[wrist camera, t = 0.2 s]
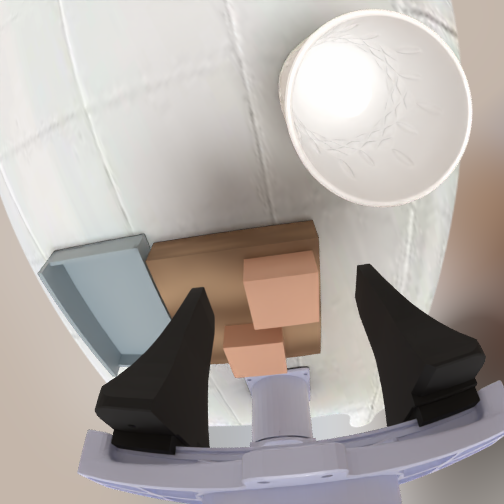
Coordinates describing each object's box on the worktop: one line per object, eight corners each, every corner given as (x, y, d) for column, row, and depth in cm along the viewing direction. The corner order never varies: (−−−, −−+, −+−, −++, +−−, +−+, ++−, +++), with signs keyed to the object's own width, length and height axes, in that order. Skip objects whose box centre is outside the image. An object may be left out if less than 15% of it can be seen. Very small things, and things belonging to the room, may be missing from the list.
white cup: (369, 26, 14) (457, 12, 6) (390, 131, 19) (473, 189, 11) (254, 45, 16) (255, 25, 8) (286, 153, 20) (312, 227, 12)
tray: (197, 352, 33) (193, 377, 30) (119, 353, 34) (112, 376, 31) (144, 234, 24) (131, 259, 21) (54, 251, 25) (37, 273, 22)
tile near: (314, 299, 25) (319, 321, 22) (254, 306, 25) (254, 329, 23) (312, 250, 22) (318, 271, 20) (243, 259, 22) (243, 281, 20)
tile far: (285, 352, 29) (287, 373, 27) (235, 357, 29) (235, 378, 27) (281, 319, 26) (283, 342, 24) (224, 325, 26) (222, 348, 24)
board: (317, 334, 31) (320, 353, 29) (198, 346, 32) (196, 364, 30) (312, 220, 23) (318, 237, 21) (153, 243, 24) (145, 261, 22)
